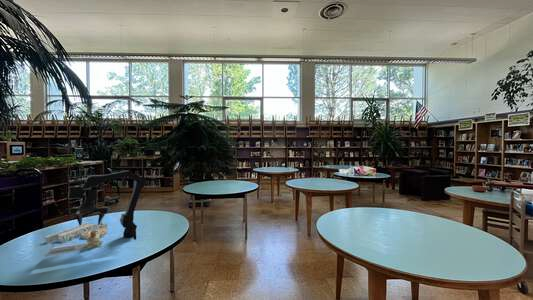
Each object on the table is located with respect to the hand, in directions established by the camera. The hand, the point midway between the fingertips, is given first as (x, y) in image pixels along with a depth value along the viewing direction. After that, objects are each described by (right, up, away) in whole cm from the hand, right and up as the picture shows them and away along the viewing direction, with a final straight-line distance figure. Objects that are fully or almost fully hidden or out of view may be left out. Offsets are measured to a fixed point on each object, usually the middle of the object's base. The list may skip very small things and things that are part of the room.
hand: (89, 225), depth 138 cm
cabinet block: (+2, -11, 0) cm, 12 cm away
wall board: (-5, -13, -4) cm, 14 cm away
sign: (-15, -13, +18) cm, 27 cm away
